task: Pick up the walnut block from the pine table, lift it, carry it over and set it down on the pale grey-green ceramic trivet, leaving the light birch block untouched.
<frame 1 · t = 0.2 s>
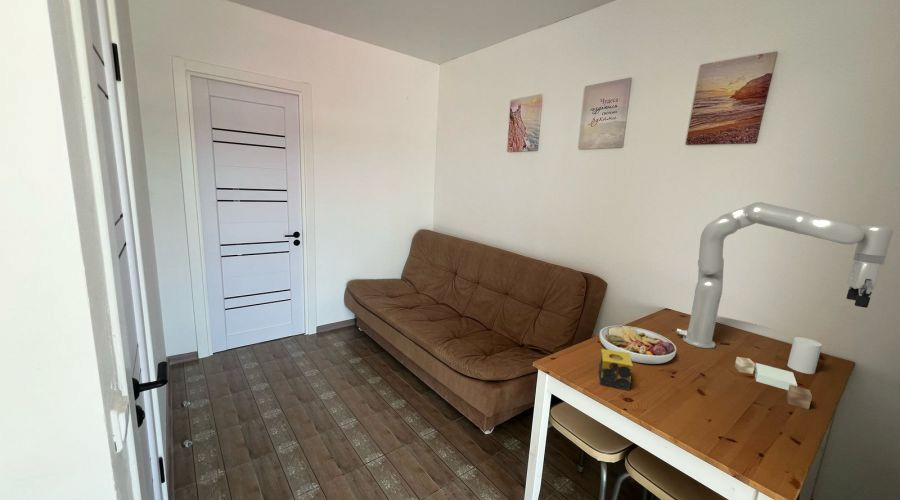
hand: (856, 303, 135), 31 cm above the table, fingers open, 9 cm apart
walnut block: (797, 403, 124), on the table
trivet: (773, 380, 138), on the table
yellow black cube: (613, 381, 133), on the table
birch block: (743, 370, 144), on the table
white cylinder: (800, 368, 147), on the table
bowl: (634, 350, 159), on the table
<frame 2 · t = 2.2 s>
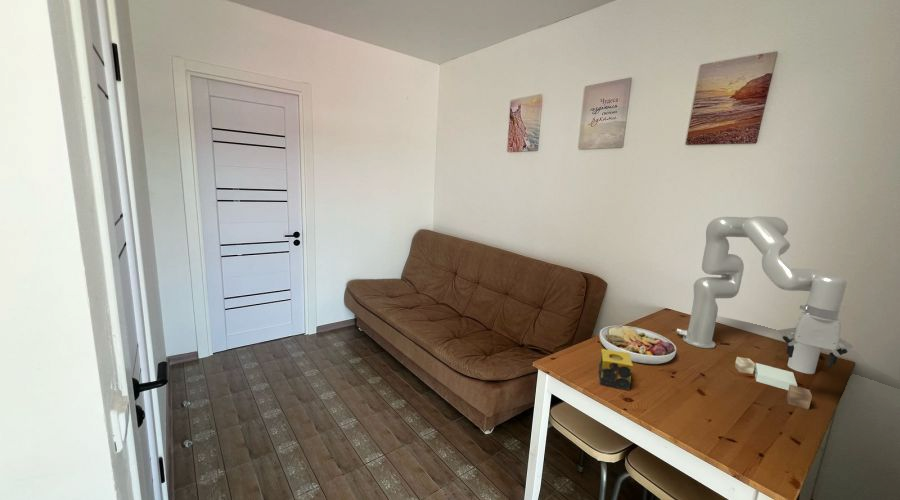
hand: (809, 360, 120), 16 cm above the table, fingers open, 9 cm apart
nothing on the table moved.
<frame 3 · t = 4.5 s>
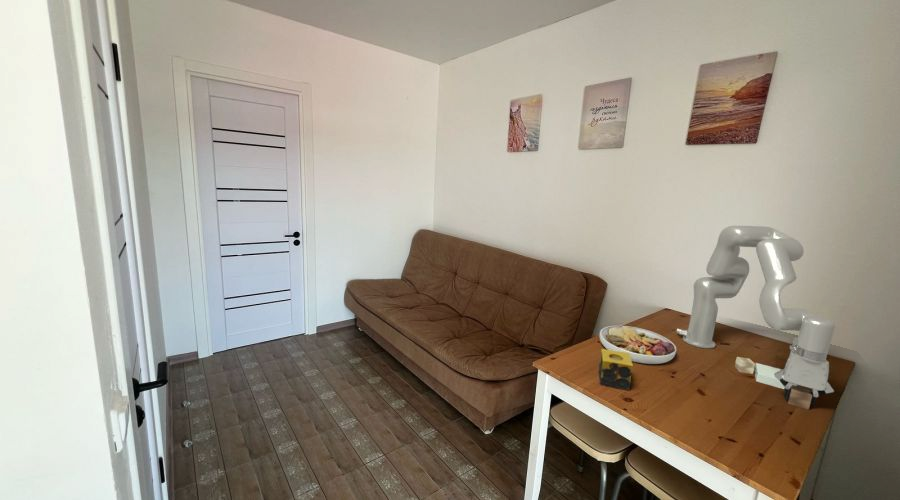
hand: (797, 401, 123), 1 cm above the table, fingers closed on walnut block, 5 cm apart
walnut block: (797, 403, 124), on the table, touching gripper
everything else where it was.
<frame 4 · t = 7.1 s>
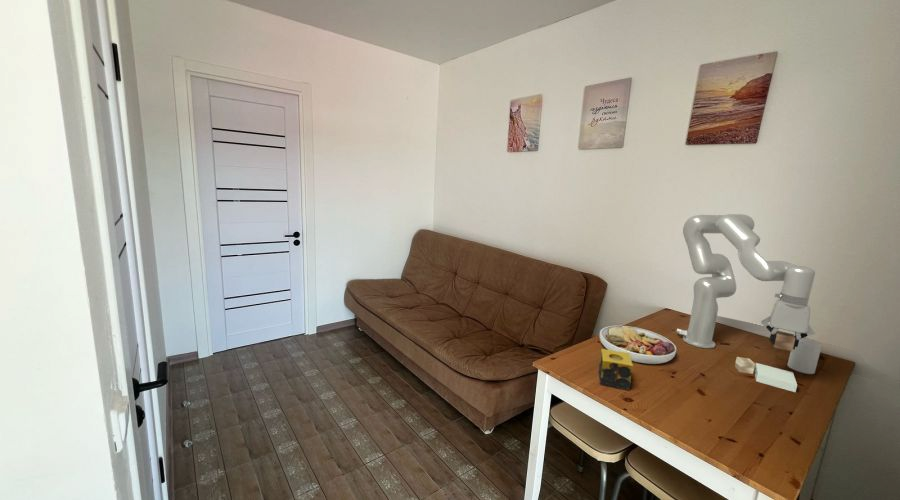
hand: (782, 345, 134), 15 cm above the table, fingers closed on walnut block, 5 cm apart
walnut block: (782, 346, 135), point 14 cm above the table, touching gripper
everything else where it was.
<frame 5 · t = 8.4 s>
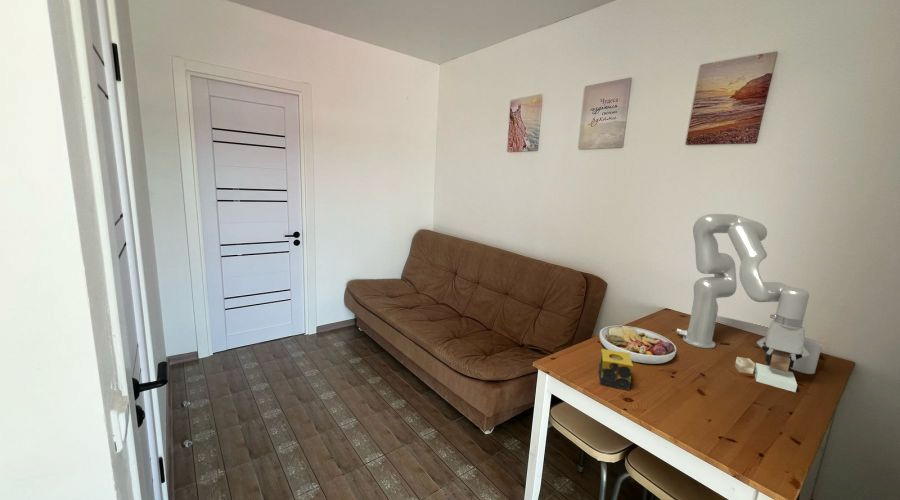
hand: (778, 365, 136), 6 cm above the table, fingers closed on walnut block, 5 cm apart
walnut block: (777, 367, 136), point 6 cm above the table, touching gripper
everything else where it was.
when the fingers open (5 cm above the table, at t = 9.5 s): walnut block drops 1 cm, resting on trivet.
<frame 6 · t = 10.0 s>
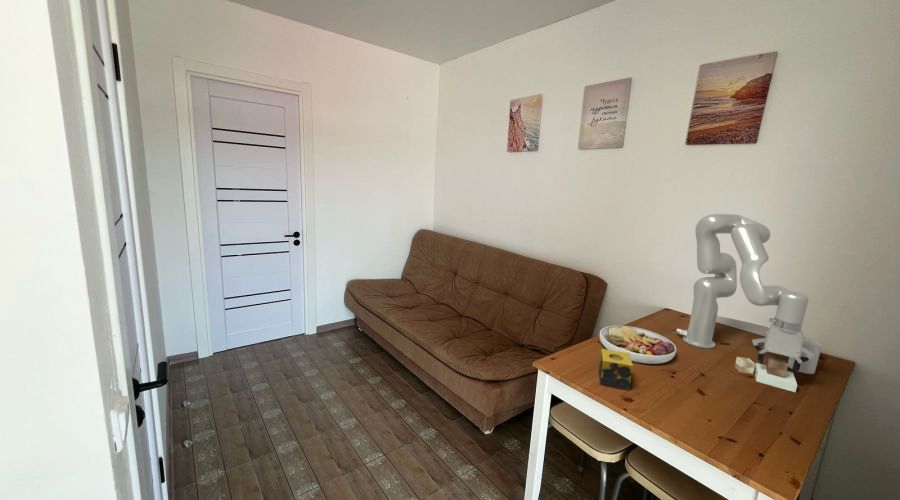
hand: (777, 366, 136), 6 cm above the table, fingers open, 9 cm apart
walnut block: (775, 373, 137), point 3 cm above the table, touching trivet
everything else where it was.
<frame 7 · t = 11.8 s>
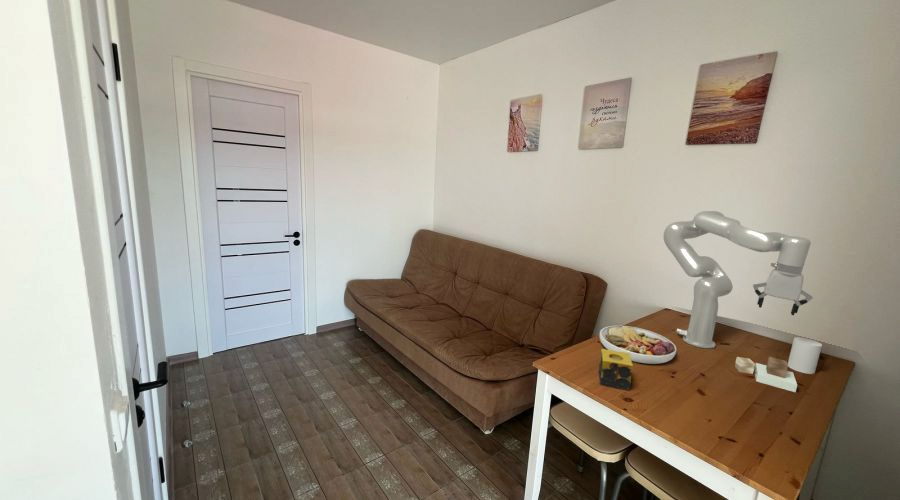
hand: (775, 310, 141), 25 cm above the table, fingers open, 9 cm apart
nothing on the table moved.
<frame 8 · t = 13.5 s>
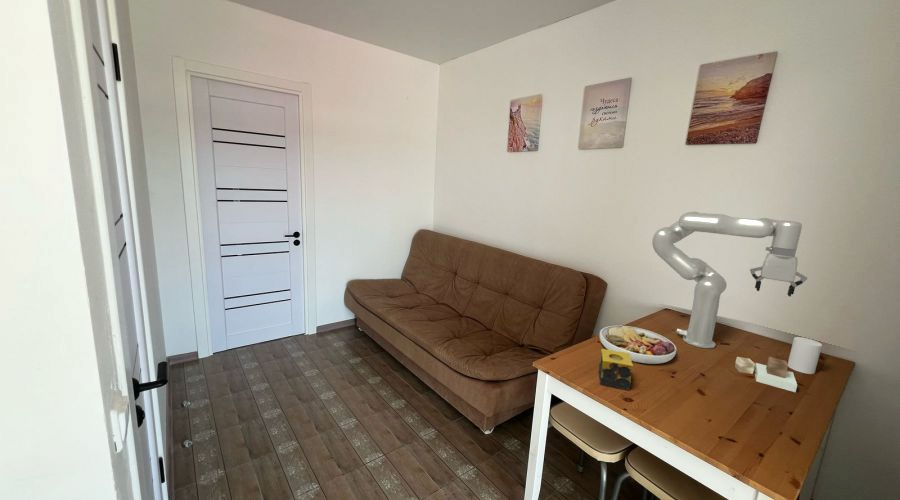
hand: (773, 292, 146), 30 cm above the table, fingers open, 9 cm apart
nothing on the table moved.
at the end: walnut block inside the target area on the trivet (0.1 cm from its centre), point 3.0 cm above the trivet's base; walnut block tilted 0°; the gripper is holding nothing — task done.
